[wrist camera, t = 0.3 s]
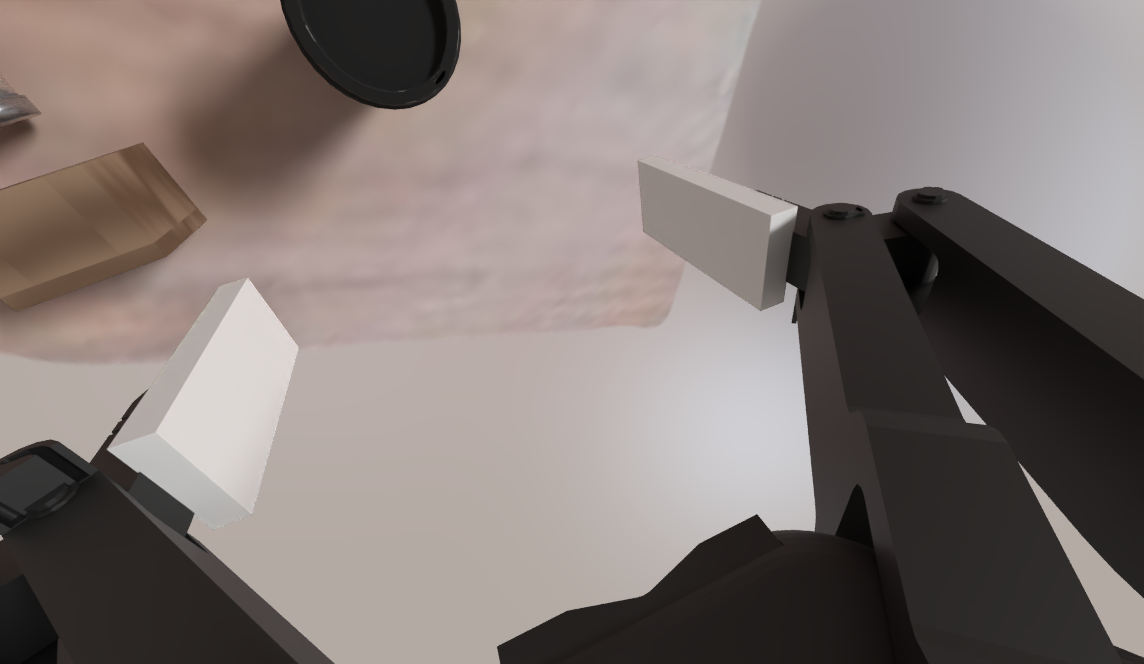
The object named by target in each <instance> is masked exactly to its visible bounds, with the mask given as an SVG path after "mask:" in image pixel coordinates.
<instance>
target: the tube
mask: <svg viewBox="0 0 1144 664" xmlns="http://www.w3.org/2000/svg"><path fill="white" fill-rule="evenodd" d="M40 114H41V112H40V111H39V110H38V109H37V108H36V107H35V106H34V105H33V104H32V103H31V102H30V101H29V99H28V98H27V97H26V96H24V95H19V94H18V93H17V92H16V91H15V90H14V89H13V88H12V87H11V86H10V85H9V84H8V83H7V81H6V80H5V79H4V78H3V77H2V76H1V75H0V127H2V126H6V125H10V124H13V123H16V122H20V121H23V120H26V119H29V118H32V117H35V116H38V115H40Z"/></svg>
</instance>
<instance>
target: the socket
mask: <svg viewBox="0 0 1144 664" xmlns="http://www.w3.org/2000/svg"><path fill="white" fill-rule="evenodd" d="M206 220H207V219H206V218H205V217H204V216H203V214H202V213H201V212H200V211H199V210H198V208H197V207H196V206H195V205H194V204H193V202H192V201H191V200H190V199H189V198H188V196H187V195H186V194H185V193H184V192H183V190H182V189H181V188H180V187H179V186H178V184H177V183H176V182H175V181H174V180H173V178H172V177H171V176H170V175H169V173H168V172H167V171H166V170H165V169H164V167H163V166H162V165H161V164H160V163H159V161H158V160H157V159H156V158H155V157H154V155H153V154H152V153H151V152H150V151H149V149H148V148H147V147H146V146H145V145H144V143H141V144H138V145H134V146H131V147H128V148H125V149H122V150H119V151H116V152H113V153H110V154H107V155H104V156H101V157H98V158H94V159H91V160H88V161H85V162H82V163H79V164H76V165H73V166H70V167H67V168H64V169H61V170H58V171H55V172H51V173H48V174H45V175H42V176H39V177H36V178H33V179H30V180H27V181H24V182H21V183H18V184H15V185H12V186H8V187H5V188H2V189H0V299H1V300H2V301H3V302H4V303H6V304H7V305H8V306H10V307H11V308H12V309H14V310H15V311H19V310H21V309H24V308H27V307H30V306H32V305H35V304H38V303H41V302H43V301H46V300H49V299H52V298H54V297H57V296H60V295H63V294H65V293H68V292H71V291H73V290H76V289H79V288H82V287H84V286H87V285H90V284H93V283H95V282H98V281H101V280H104V279H106V278H109V277H112V276H115V275H117V274H120V273H123V272H126V271H128V270H131V269H134V268H137V267H139V266H142V265H145V264H148V263H150V262H153V261H156V260H158V259H161V258H164V257H167V256H168V255H169V254H170V253H171V252H172V251H173V250H174V249H176V248H177V247H178V246H179V245H180V244H181V243H182V242H183V241H184V240H185V239H187V238H188V237H189V236H190V235H191V234H192V233H193V232H194V231H195V230H196V229H198V228H199V227H200V226H201V225H202V224H203V223H204V222H205V221H206Z"/></svg>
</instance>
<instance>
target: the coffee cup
mask: <svg viewBox="0 0 1144 664" xmlns="http://www.w3.org/2000/svg"><path fill="white" fill-rule="evenodd" d="M280 1H281V6H282V11H283V14H284V16H285V19H286V22H287V24H288V27H289V29H290V32H291V34H292V36H293V37H294V39H295V41H296V43H297V44H298V46H299V48H300V50H301V52H302V53H303V54H304V56H305V57H306V58H307V60H308V61H309V62H310V64H311V65H312V66H313V68H314V69H315V70H316V71H317V72H318V73H319V74H320V75H321V76H322V77H323V78H324V79H325V80H326V81H327V82H328V83H329V84H330V85H332V86H333V87H335V88H336V89H337V90H339V91H340V92H342V93H343V94H344V95H346V96H348V97H350V98H352V99H354V100H356V101H358V102H360V103H363V104H366V105H370V106H373V107H377V108H384V109H394V110H396V109H406V108H412V107H414V106H417V105H420V104H423V103H425V102H427V101H428V100H430V99H431V98H433V97H435V96H436V95H437V94H438V93H439V92H440V91H441V90H442V89H443V88H444V87H445V86H446V84H447V83H448V81H449V79H450V78H451V76H452V74H453V72H454V69H455V67H456V64H457V61H458V58H459V51H460V44H461V26H460V18H459V13H458V8H457V3H456V0H280Z"/></svg>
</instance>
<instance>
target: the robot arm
mask: <svg viewBox="0 0 1144 664" xmlns="http://www.w3.org/2000/svg"><path fill="white" fill-rule="evenodd" d="M638 171H639V184H640V197H641V209H642V222H643V232H644V233H646V234H647V235H649V236H650V237H652V238H653V239H655V240H656V241H658V242H659V243H661V244H662V245H664V246H665V247H667V248H668V249H670V250H671V251H673V252H674V253H676V254H677V255H678V256H680V257H681V258H683V259H684V260H686V261H687V262H689V263H690V264H692V265H693V266H695V267H696V268H698V269H699V270H701V271H702V272H704V273H705V274H707V275H708V276H710V277H711V278H712V279H714V280H715V281H717V282H718V283H720V284H721V285H723V286H724V287H726V288H727V289H729V290H730V291H732V292H733V293H735V294H736V295H738V296H739V297H741V298H742V299H744V300H745V301H747V302H748V303H749V304H751V305H752V306H754V307H756V308H757V309H759V310H760V311H762V310H764V309H767V308H769V307H772V306H774V305H777V304H779V303H781V302H783V301H784V295H785V289H786V282H788V283H790V284H791V285H793V286H795V287H797V288H798V289H797V294H796V300H795V306H794V312H793V318H792V323H796V321H798V332H799V343H800V353H801V363H802V373H803V384H804V393H805V404H806V414H807V425H808V435H809V445H810V455H811V466H812V476H813V485H814V496H815V508H816V524H815V532H813V531H801V530H781V531H772V532H771V531H770V530H769V528H768V527H767V526H766V525H765V523H764V522H763V521H762V520H761V519H760V517H759V516H758V515H755V516H753V517H751V518H749V519H747V520H745V521H743V522H741V523H739V524H737V525H735V526H733V527H731V528H729V529H727V530H725V531H723V532H721V533H719V534H717V535H715V536H713V537H711V538H710V539H707V540H706V541H704V542H702V543H700V544H699V545H697V546H696V548H694V549H693V550H692V551H691V552H690V553H689V554H688V555H687V556H686V557H685V558H684V559H683V560H682V561H681V562H680V563H679V564H678V565H677V566H676V567H675V568H674V569H673V570H672V571H671V572H670V573H668V575H666V576H665V577H664V578H663V579H662V580H661V581H660V582H659V583H658V584H657V585H656V586H655V587H654V588H653V589H652V590H651V591H650V592H648V593H647V594H645V595H643V596H641V597H638V598H632V599H627V600H622V601H617V602H611V603H606V604H601V605H596V606H591V607H585V608H580V609H574V610H569V611H566V612H564V613H562V614H560V615H558V616H556V617H554V618H552V619H550V620H548V621H546V622H544V623H542V624H540V625H539V626H536V627H535V628H532V629H531V630H529V631H527V632H525V633H523V634H521V635H519V636H517V637H515V638H513V639H511V640H509V641H507V642H505V643H503V644H501V645H499V646H497V649H498V654H499V659H500V664H1144V658H1143V657H1141V656H1138V655H1136V654H1133V653H1131V652H1128V651H1126V650H1124V649H1121V648H1119V647H1116V646H1114V645H1113V644H1112V642H1111V640H1110V638H1109V636H1108V635H1107V633H1106V631H1105V629H1104V627H1103V625H1102V623H1101V621H1100V619H1099V617H1098V615H1097V613H1096V611H1095V609H1094V607H1093V606H1092V604H1091V602H1090V600H1089V598H1088V596H1087V594H1086V592H1085V590H1084V588H1083V586H1082V584H1081V582H1080V580H1079V579H1078V577H1077V575H1076V573H1075V571H1074V569H1073V567H1072V565H1071V564H1070V562H1069V559H1068V557H1067V556H1066V553H1065V552H1064V550H1063V548H1062V546H1061V544H1060V542H1059V540H1058V538H1057V536H1056V534H1055V533H1054V531H1053V528H1052V526H1051V525H1050V523H1049V521H1048V519H1047V517H1046V515H1045V513H1044V511H1043V509H1042V507H1041V505H1040V503H1039V501H1038V499H1037V498H1036V496H1035V494H1034V492H1033V490H1032V488H1031V486H1030V484H1029V482H1028V480H1027V478H1026V477H1025V474H1024V472H1023V471H1022V469H1021V467H1020V465H1019V463H1020V464H1021V465H1022V466H1023V467H1024V469H1025V470H1026V471H1027V472H1028V473H1029V474H1030V475H1031V477H1032V478H1033V479H1034V480H1035V481H1036V483H1037V484H1038V485H1039V486H1040V487H1041V488H1042V489H1043V491H1044V492H1045V493H1046V494H1047V495H1048V497H1050V499H1051V500H1052V501H1053V502H1054V504H1055V505H1056V506H1057V507H1058V508H1059V509H1060V511H1061V512H1062V513H1063V514H1064V515H1065V516H1066V517H1067V519H1068V520H1069V521H1070V522H1071V523H1072V525H1073V526H1074V527H1075V528H1076V529H1077V530H1078V532H1079V533H1080V534H1081V535H1082V536H1083V537H1084V538H1085V539H1086V540H1087V542H1089V544H1090V545H1091V546H1092V547H1093V548H1094V549H1095V550H1096V551H1097V552H1098V553H1099V554H1100V556H1101V557H1102V558H1103V559H1104V560H1105V561H1106V562H1107V563H1108V564H1109V565H1110V566H1111V567H1112V568H1113V570H1114V571H1115V572H1117V573H1118V574H1119V575H1120V576H1121V577H1122V578H1123V579H1124V580H1125V581H1126V582H1127V583H1128V584H1129V585H1130V586H1131V587H1132V588H1133V589H1134V590H1136V591H1137V592H1138V593H1139V594H1140V595H1141V596H1142V597H1143V598H1144V299H1142V298H1140V297H1139V296H1137V295H1135V294H1133V293H1132V292H1130V291H1128V290H1126V289H1125V288H1123V287H1121V286H1119V285H1118V284H1116V283H1114V282H1112V281H1111V280H1109V279H1107V278H1105V277H1104V276H1102V275H1100V274H1099V273H1097V272H1095V271H1093V270H1092V269H1090V268H1088V267H1086V266H1085V265H1083V264H1081V263H1079V262H1078V261H1076V260H1074V259H1072V258H1071V257H1069V256H1067V255H1065V254H1063V253H1061V252H1060V251H1058V250H1057V249H1055V248H1053V247H1051V246H1050V245H1048V244H1046V243H1044V242H1042V241H1041V240H1039V239H1037V238H1035V237H1034V236H1032V235H1030V234H1029V233H1027V232H1025V231H1023V230H1022V229H1020V228H1018V227H1016V226H1015V225H1013V224H1011V223H1009V222H1008V221H1006V220H1004V219H1002V218H1001V217H999V216H997V215H995V214H994V213H992V212H990V211H988V210H987V209H985V208H983V207H982V206H980V205H978V204H976V203H974V202H973V201H971V200H969V199H968V198H966V197H964V196H962V195H961V194H958V193H955V192H953V191H948V190H943V189H942V188H939V187H934V188H933V187H924V188H920V189H912V190H907V191H904V192H902V193H899V194H898V196H897V198H896V201H895V205H894V208H893V211H892V212H889V213H883V214H877V215H872V213H871V212H870V211H869V210H868V209H867V208H864V207H862V206H859V205H853V204H848V203H834V204H826V205H822V206H818V207H816V208H815V209H813V210H811V209H808V208H805V207H803V206H800V205H797V204H794V203H792V202H789V201H786V200H783V201H782V199H781V198H778V197H775V196H773V197H772V196H771V195H769V194H767V193H764V192H761V191H758V190H752V189H749V188H747V187H744V186H741V185H738V184H735V183H733V182H730V181H727V180H725V179H722V178H719V177H716V176H714V175H711V174H708V173H705V172H703V171H700V170H697V169H694V168H692V167H689V166H686V165H684V164H681V163H678V162H675V161H673V160H670V159H667V158H664V157H662V156H659V155H654V156H650V157H647V158H644V159H640V160H638ZM937 271H938V272H937ZM936 273H937V275H936ZM298 349H299V347H298V346H297V345H296V343H295V342H294V341H293V339H292V338H291V336H290V335H289V334H288V332H287V331H286V330H285V328H284V327H283V325H282V324H281V323H280V321H279V320H278V319H277V317H276V316H275V314H274V313H273V312H272V310H271V309H270V307H269V306H268V305H267V303H266V302H265V301H264V299H263V298H262V296H261V295H260V294H259V292H258V291H257V290H256V288H255V287H254V285H253V284H252V283H251V281H250V280H249V279H248V278H244V279H241V280H238V281H234V282H231V283H228V284H224V285H221V286H220V287H219V288H218V290H217V291H216V292H215V294H214V295H213V297H212V298H211V300H210V301H209V303H208V304H207V305H206V307H205V308H204V310H203V311H202V313H201V314H200V316H199V317H198V318H197V320H196V321H195V323H194V324H193V326H192V327H191V329H190V330H189V331H188V333H187V334H186V336H185V337H184V339H183V340H182V341H181V343H180V344H179V346H178V347H177V349H176V350H175V352H174V353H173V354H172V356H171V357H170V359H169V360H168V362H167V363H166V365H165V366H164V367H163V369H162V370H161V372H160V373H159V375H158V376H157V378H156V379H155V380H154V382H153V383H152V385H151V386H150V388H149V389H148V390H146V391H145V392H144V393H143V394H142V395H141V396H140V397H139V398H137V399H136V400H135V401H134V402H133V403H132V405H131V406H130V407H129V408H128V410H127V411H126V413H125V414H124V415H123V417H122V421H120V422H118V424H117V425H116V427H115V428H114V430H113V431H112V433H113V434H112V435H109V436H108V438H107V440H106V441H105V442H104V444H103V445H102V446H101V448H100V449H99V451H98V452H97V453H96V455H95V456H94V458H93V459H92V460H91V462H90V463H88V462H87V461H85V460H84V459H82V458H81V457H80V456H78V455H77V454H75V453H74V452H73V451H71V450H70V449H68V448H67V447H65V446H64V445H63V444H61V443H60V442H58V441H54V440H46V441H41V442H36V443H34V444H31V445H29V446H26V447H23V448H21V449H18V450H17V451H14V452H13V453H11V454H9V455H7V456H5V457H3V458H1V459H0V535H2V537H3V540H1V541H0V664H334V663H333V662H332V661H331V660H330V659H329V658H328V657H326V656H325V655H324V654H323V653H322V652H321V651H320V650H319V649H318V648H317V647H316V646H314V645H313V644H312V643H311V642H310V641H309V640H308V639H307V638H306V637H304V636H303V635H302V634H301V633H300V632H299V631H298V630H297V629H296V628H295V627H293V626H292V625H291V624H290V623H289V622H288V621H287V620H286V619H284V618H283V617H282V616H281V615H280V614H279V613H278V612H277V611H276V610H275V609H273V608H272V607H271V606H270V605H269V604H268V603H267V602H266V601H265V600H264V599H262V598H261V597H260V596H259V595H258V594H257V593H256V592H255V591H253V589H251V588H250V587H249V586H248V585H247V584H246V583H245V582H244V581H242V580H241V579H240V578H239V577H238V576H237V575H236V574H235V573H234V572H232V571H231V570H230V569H229V568H228V567H227V566H226V565H225V564H224V563H223V562H222V561H220V560H219V559H218V558H217V557H216V556H215V555H214V554H213V553H212V552H210V551H209V550H208V549H207V548H206V547H205V546H204V545H203V544H202V543H201V542H199V541H198V540H197V539H195V538H194V537H193V536H191V535H190V534H188V533H187V531H188V529H189V526H190V524H191V521H192V519H193V516H196V517H197V518H198V519H200V520H201V521H203V522H204V523H205V524H206V525H208V526H209V527H210V528H212V529H213V530H215V529H218V528H220V527H223V526H225V525H228V524H230V523H233V522H235V521H238V520H240V519H243V518H245V517H248V516H250V515H252V513H253V510H254V506H255V503H256V499H257V496H258V492H259V488H260V484H261V481H262V478H263V474H264V470H265V467H266V463H267V460H268V456H269V452H270V449H271V445H272V442H273V438H274V435H275V431H276V428H277V424H278V420H279V417H280V413H281V410H282V406H283V402H284V399H285V395H286V392H287V388H288V384H289V381H290V377H291V374H292V370H293V367H294V363H295V360H296V356H297V352H298ZM944 375H945V376H944ZM945 377H946V378H947V379H948V380H949V381H950V382H951V384H952V385H953V386H954V387H955V388H956V389H957V391H958V392H959V393H960V394H961V395H962V396H963V398H964V399H965V400H966V401H967V402H968V403H969V405H970V406H971V407H972V408H973V409H974V410H975V412H976V413H977V414H978V415H979V416H980V417H981V418H982V420H983V421H984V422H985V423H986V424H987V425H981V424H971V423H966V422H965V420H964V419H963V416H962V414H961V412H960V410H959V407H958V405H957V403H956V401H955V399H954V396H953V394H952V392H951V389H950V387H949V385H948V383H947V381H946V378H945ZM1018 462H1019V463H1018Z"/></svg>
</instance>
